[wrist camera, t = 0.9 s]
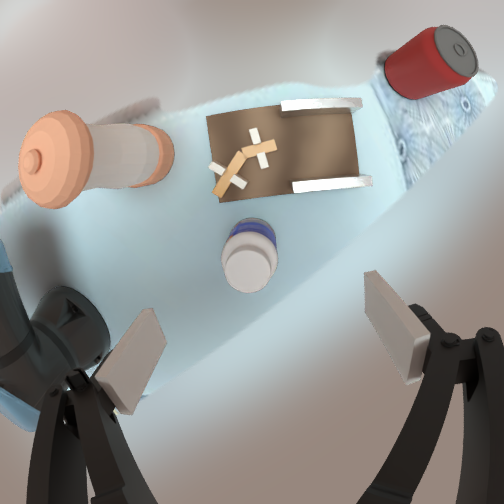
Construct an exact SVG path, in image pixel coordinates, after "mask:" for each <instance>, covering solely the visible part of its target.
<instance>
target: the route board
mask: <svg viewBox="0 0 504 504" xmlns="http://www.w3.org/2000/svg"><path fill="white" fill-rule="evenodd" d="M279 108H280V105H275V106H266V107H258V108H251V109H244V110H238V111H232V112H226V113H221V114H216V115H211V116H206V120H207V127H208V134H209V140H210V147H211V153H212V160H213V161H217V162H219V163H220V164H222V165H224V166H225V167H228V166H229V164H230V162H231V161H232V159H233V158H234V156H235V155H236V153H237V152H238V151H240V152H242V149H241V148H244V147H247V146H251V145H253V142H252V138H251V135H250V132H249V130H250V129H253V128H257V130H258V133H259V137H260V140H261V142H265V141H269V140H273V139H274V140H275V144H276V147H277V150H276V151H273V152H269V153H265V155H266V159H267V162H268V166H269V167H267V168H263V169H261V167H260V164H259V160H258V157H257V156H254V157H251V158H247V160H246V161H245V163H244V164H243V166H242V167H241V169H240V171H239V172H238V175H240V176H241V177H243V178H244V179H246V180H248V181H249V182H248V183H247V185H246V186H245V188H244V189H241V188H240V187H238V186H237V185H235V184H233V183H231V184H230V186H229V188H228V189H227V191H226V192H225V194H224V196H223V197H222V198H220V197H219V203H222V202H229V201H236V200H243V199H251V198H258V197H266V196H274V195H282V194H291V193H294V192H293V191H292V190H291V187H290V180H294V179H304V178H314V177H325V176H337V175H351V174H359V167H358V158H357V150H356V142H355V134H354V128H353V121H352V115H351V114H323V115H306V116H294V117H284V118H281V116H280V110H279ZM242 153H243V152H242ZM214 173H215V179H216V185H217V183H218V181H219V180H220V178H221V177H222V176H221V175H219V174H218V173H216V172H214ZM352 188H354V187H352ZM339 189H342V188H339ZM328 190H330V189H328ZM317 191H320V190H317ZM308 192H310V191H308ZM298 193H300V192H298Z"/></svg>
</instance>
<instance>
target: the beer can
mask: <svg viewBox="0 0 504 504" xmlns="http://www.w3.org/2000/svg"><path fill="white" fill-rule="evenodd" d="M478 68H479V67H478V59H477V56H476V53H475V51H474V49H473V47H472V45H471V44H470V43H469V41H468V40H467V39H466V38H465V37H464V36H463V35H462V34H461V33H460V32H459V31H457V30H456V29H454V28H453V27H450V26H447V25H441V26H439V27H430V28H427V29H425V30H424V31H422V32H421V33H419V34H418V35H417V36H415V37H414V38H413V39H411V40H410V41H409V42H407V43H406V44H405V45H403V46H402V47H401V48H399V49H398V50H397V51H396V52H394V53H393V54H392V55H390V56H389V57H388V59H387V60H386V62H385V73H386V77H387V79H388V81H389V83H390V85H391V86H392V87H393V88H394V89H395V91H397V92H398V93H399V94H401V95H402V96H404V97H406V98H409V99H415V100H416V99H420V98H423V97H426V96H429V95H432V94H435V93H438V92H442V91H445V90H448V89H451V88H455V87H458V86H461V85H464V84H465V83H467V82H468V81H469V80H470V79H471V78H472V77H474V76H475V75H476V74H477V72H478Z"/></svg>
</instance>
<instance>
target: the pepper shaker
mask: <svg viewBox="0 0 504 504" xmlns="http://www.w3.org/2000/svg"><path fill="white" fill-rule="evenodd" d="M173 159H174V148H173V144H172V141H171V139H170V137H169V136H168V135H167V134H166V133H165V132H164V131H163V130H160V129H158V128H156V127H152V126H149V125H145V124H134V125H131V124H123V123H118V124H109V125H92V124H85V123H84V122H83V121H82V119H81V118H80V117H79V116H78V115H76V114H74V113H72V112H70V111H67V110H62V111H55V112H51V113H48V114H47V115H45V116H43V117H42V118H40V119H39V120H38V121H37V122H36V123H35V124H34V125H33V126H32V127H31V128H30V129H29V131H28V132H27V134H26V136H25V138H24V140H23V143H22V146H21V150H20V153H19V165H18V169H19V178H20V181H21V185H22V188H23V190H24V192H25V193H26V195H27V196H28V198H30V199H31V200H32V201H34V202H35V203H36V204H38V205H39V206H40V207H44V208H49V209H58V208H62V207H65V206H67V205H68V204H69V203H70V202H72V201H73V200H74V199H75V198H76V197H77V196H78V195H79V194H80V193H81V191H84V190H89V189H94V188H109V189H121V188H125V187H131V188H137V187H142V186H146V185H150V184H155V183H157V182H158V181H160V180H162V179H163V178H164V177H165V176H166V175H167V173H168V172H169V170H170V168H171V166H172V164H173Z"/></svg>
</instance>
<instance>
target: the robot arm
mask: <svg viewBox="0 0 504 504" xmlns="http://www.w3.org/2000/svg"><path fill="white" fill-rule="evenodd" d="M12 270H13V268H12V266H11V265H10V263H9V260H8V257H7V254H6V250H5V247H4V244H3V242H2V241H1V239H0V412H1V413H2V414H3V415H4V416H5V417H6V418H8V419H9V420H10V421H11V422H13V423H14V424H15V425H17V426H18V427H20V428H21V429H24V430H25V431H28V432H34V431H36V432H35V438H34V443H33V448H32V454H31V460H30V468H29V476H28V486H27V501H26V504H88V495H87V476H86V466H87V469H88V473H89V476H90V479H91V482H92V486H93V489H94V492H95V497H92V498H91V504H158V503H157V501H156V500H155V498H154V496H153V494H152V493H151V491H150V489H149V487H148V485H147V484H146V482H145V480H144V478H143V476H142V474H141V472H140V470H139V468H138V466H137V464H136V462H135V460H134V458H133V455H132V453H131V451H130V449H129V447H128V444H127V442H126V440H125V438H124V435H123V432H122V430H121V427H120V425H119V422H118V420H117V417H116V415H115V413H114V412H113V410H114V408H115V407H116V408H117V409H118V411H119V412H120V413H121V414H126V415H133V413H134V411H135V408H136V406H137V404H138V402H139V400H140V398H141V396H142V393H143V391H144V389H145V387H146V385H147V383H148V381H149V379H150V377H151V375H152V372H153V370H154V368H155V366H156V364H157V362H158V360H159V358H160V356H161V354H162V352H163V350H164V348H165V346H166V344H167V341H166V339H165V336H164V334H163V332H162V329H161V327H160V325H159V322H158V320H157V317H156V315H155V313H154V310H153V308H150V309H143V310H142V311H141V313H140V314H139V315H138V317H137V318H136V319H135V321H134V322H133V323H132V325H131V326H130V327H129V329H128V330H127V331H126V333H125V334H124V336H123V337H122V338H121V340H120V341H119V342H118V344H117V345H116V347H115V348H114V349H113V350H111V351H110V352H109V353H108V351H109V348H110V337H109V333H108V330H107V327H106V325H105V322H104V321H103V319H102V317H101V315H100V314H99V312H98V311H97V310H96V308H95V307H94V306H93V305H92V304H91V303H90V302H89V301H88V300H87V299H86V298H85V297H84V296H83V295H81V294H80V293H79V292H77V291H75V290H73V289H71V288H68V287H64V286H59V287H55V288H53V289H52V290H50V291H49V292H48V293H46V294H45V295H44V296H43V298H42V299H41V301H40V303H39V305H38V306H37V308H36V310H35V312H34V314H33V316H32V317H31V319H30V320H29V318H28V315H27V313H26V310H25V308H24V306H23V303H22V300H21V298H20V295H19V292H18V289H17V286H16V283H15V280H14V277H13V273H12ZM364 286H365V313H366V315H367V316H368V318H369V320H370V322H371V323H372V325H373V327H374V328H375V330H376V332H377V334H378V335H379V337H380V339H381V341H382V342H383V344H384V346H385V348H386V350H387V351H388V353H389V355H390V357H391V359H392V360H393V362H394V364H395V366H396V368H397V370H398V372H399V373H400V375H401V377H402V379H403V381H404V383H405V385H408V384H411V383H414V382H417V381H419V380H420V378H421V375H422V371H423V373H424V378H423V380H422V383H421V386H420V389H419V391H418V394H417V397H416V399H415V401H414V404H413V406H412V408H411V411H410V413H409V415H408V418H407V420H406V422H405V424H404V426H403V428H402V430H401V432H400V435H399V436H398V438H397V440H396V442H395V444H394V446H393V448H392V450H391V452H390V454H389V455H388V457H387V459H386V461H385V463H384V464H383V466H382V468H381V469H380V471H379V473H378V474H377V476H376V477H375V479H374V480H373V482H372V483H371V485H370V486H369V487H368V488H367V490H366V491H365V492H364V494H363V495H362V496H361V498H360V499H359V501H358V502H357V503H356V504H410V503H411V501H412V496H413V494H414V492H415V490H416V488H417V486H418V484H419V482H420V480H421V478H422V476H423V474H424V472H425V470H426V468H427V465H428V463H429V461H430V458H431V456H432V453H433V451H434V448H435V446H436V443H437V441H438V438H439V435H440V432H441V429H442V427H443V424H444V421H445V418H446V414H447V411H448V408H449V404H450V400H451V396H452V393H453V389H454V385H455V384H460V383H462V384H463V400H464V439H463V456H462V467H461V475H460V482H459V489H458V494H457V500H456V504H504V346H503V343H502V340H501V337H500V334H499V333H498V332H497V331H496V330H495V329H493V328H488V327H485V328H481V329H480V330H478V332H477V333H476V337H475V338H472V339H465V340H461V338H460V337H459V336H458V335H456V334H454V333H446V332H445V331H444V330H443V329H442V328H441V327H440V326H439V325H438V323H437V322H436V321H435V320H434V319H432V317H431V316H430V315H429V314H428V312H427V311H426V310H425V309H424V308H423V307H421V306H419V305H417V304H413V305H409V306H407V305H406V304H405V302H404V301H403V300H402V299H401V298H400V297H399V296H398V294H397V293H396V292H395V291H394V290H393V289H392V288H391V286H390V285H389V284H388V283H387V282H386V281H385V280H384V279H383V278H382V277H381V275H380V274H379V273H378V272H377V271H376V270H375V271H370V272H365V273H364ZM107 353H108V354H107ZM106 354H107V355H106ZM105 355H106V356H105ZM103 358H104V359H103ZM102 359H103V360H102ZM101 361H102V362H101ZM99 362H101V363H100V364H99V366H98V367H97V369H96V370H95V371H94V373H93V374H92V376H91V377H90V379H89V377H88V375H87V374H86V372H85V371H86V370H88V369H89V368H91V367H93V366H95V365H97V364H98V363H99ZM68 388H70V389H71V390H68V391H66V390H67V389H68ZM63 420H64V421H65V422H66V424H64V421H63Z"/></svg>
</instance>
